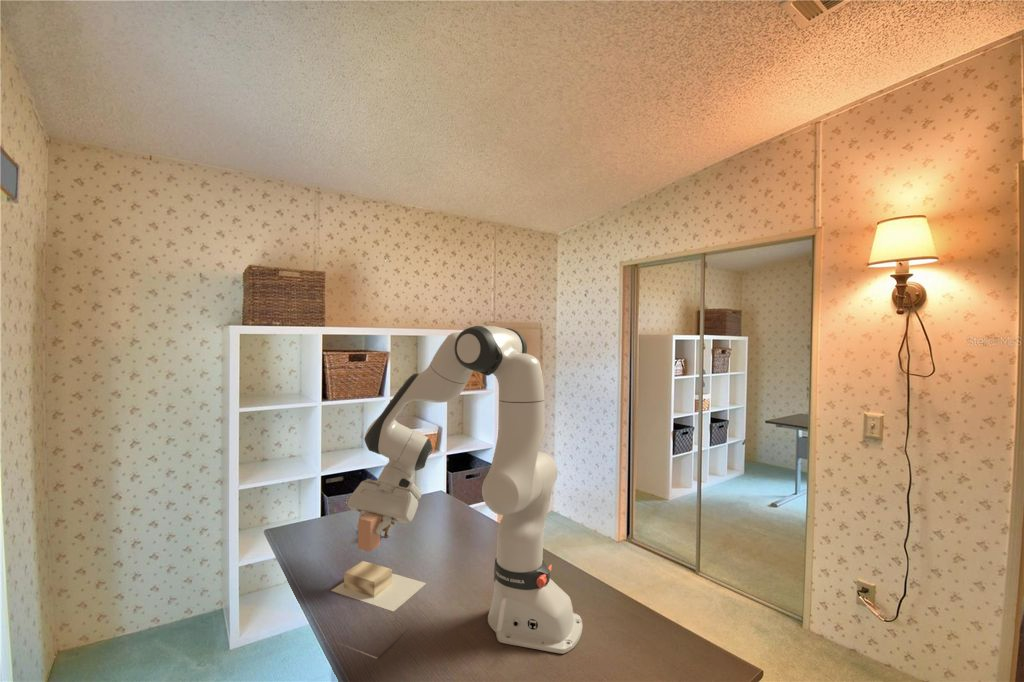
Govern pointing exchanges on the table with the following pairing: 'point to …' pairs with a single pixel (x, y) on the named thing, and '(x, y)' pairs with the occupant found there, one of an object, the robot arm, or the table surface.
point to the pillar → (368, 532)
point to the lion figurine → (387, 528)
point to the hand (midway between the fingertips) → (367, 531)
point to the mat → (386, 593)
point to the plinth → (368, 578)
